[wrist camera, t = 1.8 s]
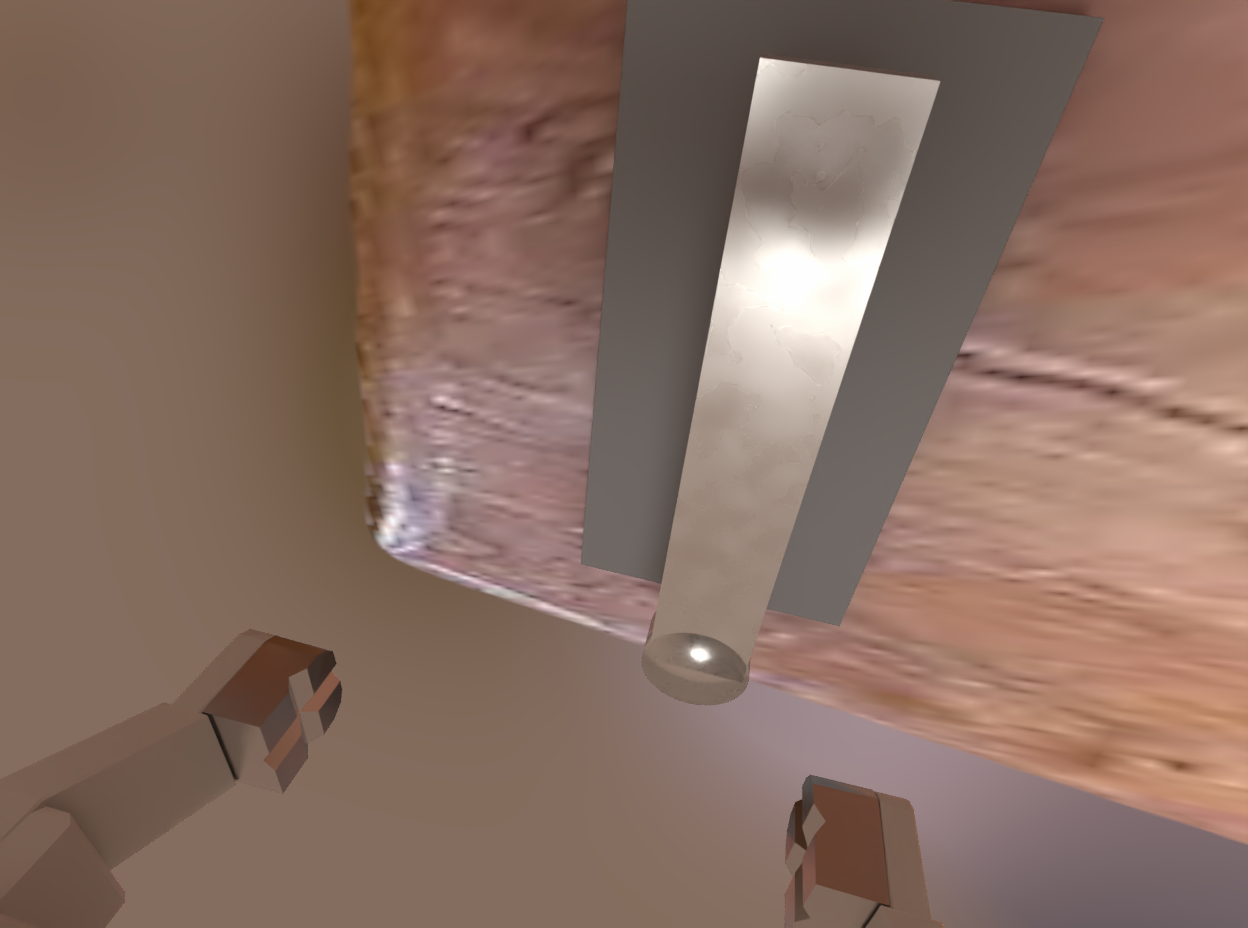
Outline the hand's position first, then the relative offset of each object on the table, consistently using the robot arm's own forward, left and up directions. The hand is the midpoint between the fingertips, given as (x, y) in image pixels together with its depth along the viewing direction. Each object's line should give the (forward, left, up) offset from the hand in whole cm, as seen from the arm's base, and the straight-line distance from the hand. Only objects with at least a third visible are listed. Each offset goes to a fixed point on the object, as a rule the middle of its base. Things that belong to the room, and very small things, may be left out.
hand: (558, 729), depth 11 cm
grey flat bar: (+6, +3, -19) cm, 20 cm away
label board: (+4, +3, -24) cm, 25 cm away
